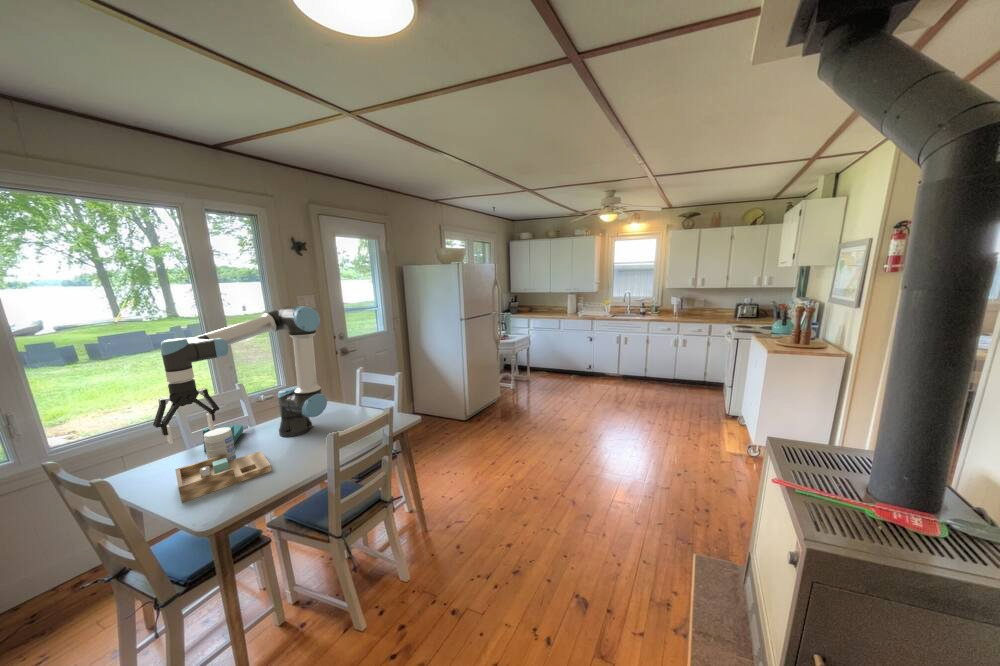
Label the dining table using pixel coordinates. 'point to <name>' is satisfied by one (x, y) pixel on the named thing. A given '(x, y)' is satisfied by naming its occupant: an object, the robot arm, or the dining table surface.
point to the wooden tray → (219, 475)
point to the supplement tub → (220, 443)
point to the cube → (220, 465)
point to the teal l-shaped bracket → (235, 430)
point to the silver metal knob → (205, 472)
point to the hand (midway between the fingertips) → (191, 435)
